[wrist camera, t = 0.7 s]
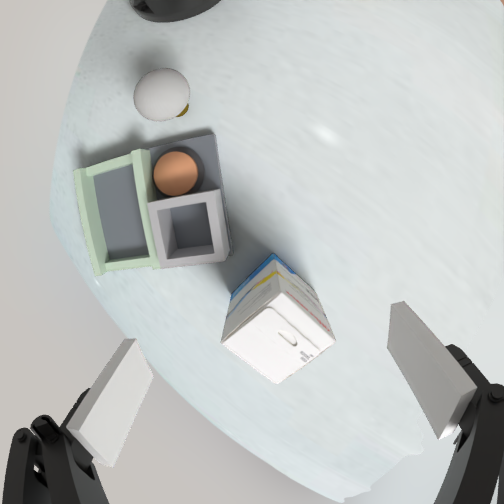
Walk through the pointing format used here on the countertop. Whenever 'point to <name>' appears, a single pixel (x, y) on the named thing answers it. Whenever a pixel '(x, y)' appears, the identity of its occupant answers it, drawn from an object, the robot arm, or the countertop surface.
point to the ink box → (276, 322)
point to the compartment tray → (153, 211)
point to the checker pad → (175, 173)
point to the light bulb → (162, 95)
